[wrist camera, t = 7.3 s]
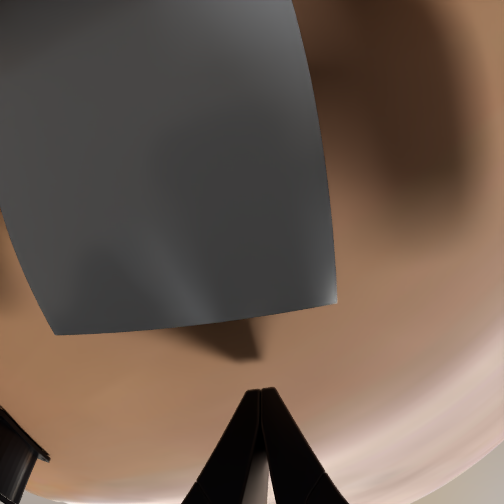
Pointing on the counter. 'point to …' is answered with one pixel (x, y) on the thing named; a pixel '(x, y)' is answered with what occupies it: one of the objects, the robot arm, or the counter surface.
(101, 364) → the counter surface
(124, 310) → the slate tile
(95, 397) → the counter surface
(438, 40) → the counter surface
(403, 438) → the counter surface
